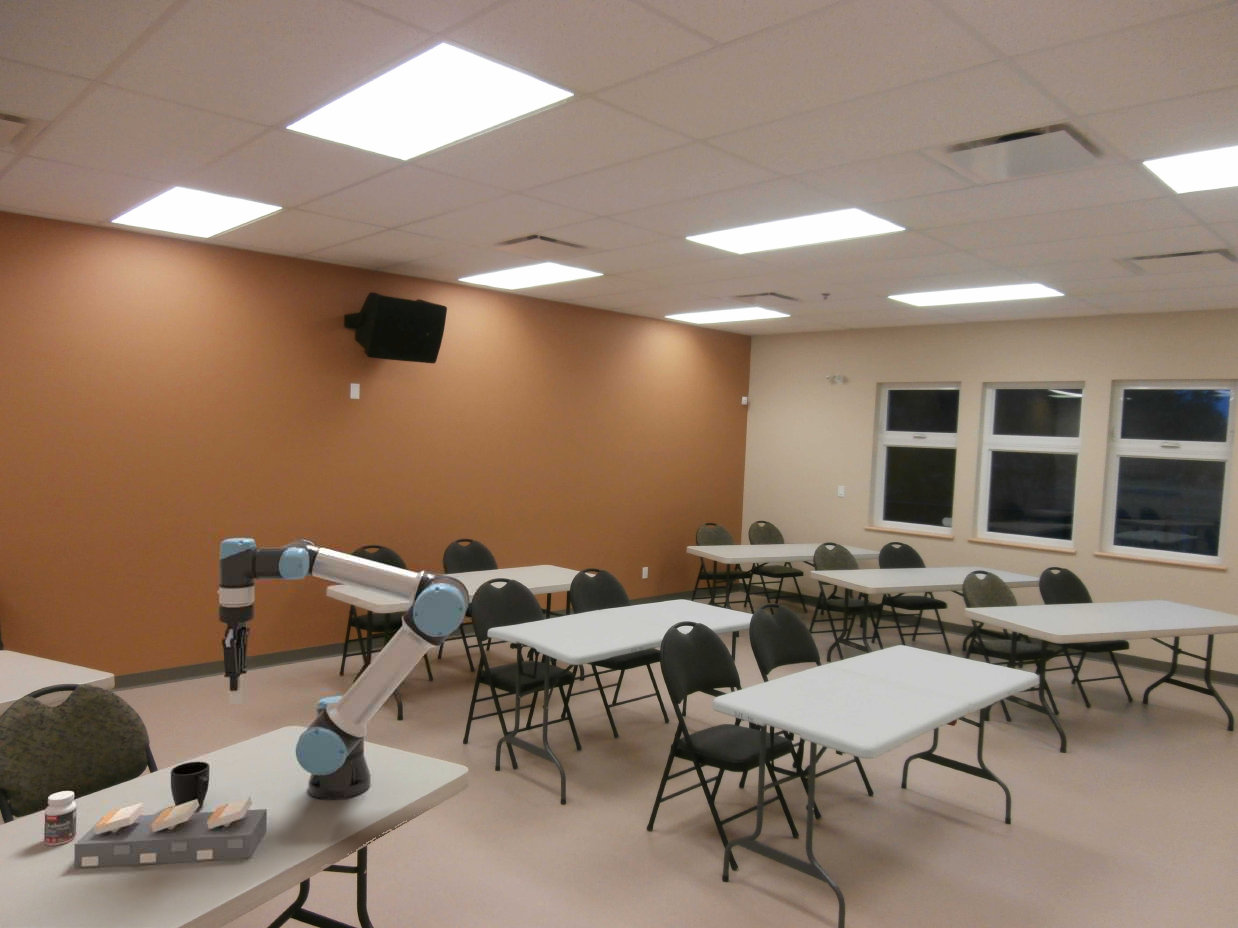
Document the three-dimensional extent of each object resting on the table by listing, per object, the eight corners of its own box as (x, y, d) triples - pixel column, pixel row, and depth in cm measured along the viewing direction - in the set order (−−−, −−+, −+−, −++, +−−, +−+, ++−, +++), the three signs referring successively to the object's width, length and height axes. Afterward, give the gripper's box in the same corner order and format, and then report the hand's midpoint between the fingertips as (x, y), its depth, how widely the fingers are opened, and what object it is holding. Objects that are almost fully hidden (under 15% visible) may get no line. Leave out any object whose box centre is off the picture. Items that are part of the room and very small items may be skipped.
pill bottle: (41, 848, 168) (42, 802, 168) (46, 836, 173) (47, 792, 173) (74, 842, 171) (74, 797, 171) (78, 831, 176) (78, 787, 176)
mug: (185, 823, 181) (186, 782, 180) (164, 807, 188) (164, 768, 188) (222, 811, 187) (222, 771, 187) (200, 796, 195) (200, 758, 194)
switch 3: (253, 806, 175) (250, 796, 175) (243, 821, 168) (240, 810, 168) (221, 817, 174) (217, 806, 174) (210, 832, 167) (206, 821, 167)
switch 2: (200, 808, 173) (196, 798, 173) (188, 823, 166) (184, 812, 166) (168, 820, 172) (164, 809, 172) (154, 835, 165) (150, 824, 165)
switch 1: (146, 812, 172) (143, 801, 171) (132, 827, 165) (129, 816, 164) (112, 822, 170) (109, 811, 170) (96, 837, 164) (93, 826, 163)
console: (266, 830, 178) (266, 806, 178) (250, 858, 166) (250, 832, 166) (102, 839, 172) (103, 814, 172) (73, 869, 160) (74, 842, 160)
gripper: (228, 598, 191) (227, 694, 192) (210, 609, 178) (208, 712, 179) (261, 598, 192) (259, 693, 193) (245, 609, 180) (243, 711, 180)
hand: (235, 702), depth 186 cm, fingers closed
